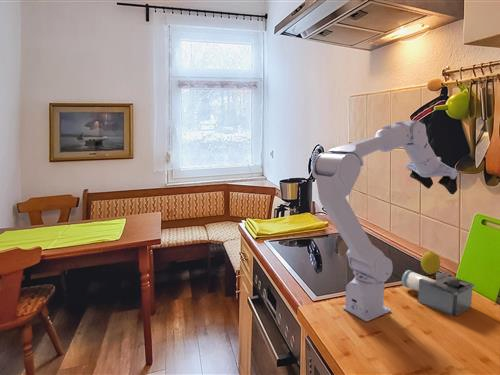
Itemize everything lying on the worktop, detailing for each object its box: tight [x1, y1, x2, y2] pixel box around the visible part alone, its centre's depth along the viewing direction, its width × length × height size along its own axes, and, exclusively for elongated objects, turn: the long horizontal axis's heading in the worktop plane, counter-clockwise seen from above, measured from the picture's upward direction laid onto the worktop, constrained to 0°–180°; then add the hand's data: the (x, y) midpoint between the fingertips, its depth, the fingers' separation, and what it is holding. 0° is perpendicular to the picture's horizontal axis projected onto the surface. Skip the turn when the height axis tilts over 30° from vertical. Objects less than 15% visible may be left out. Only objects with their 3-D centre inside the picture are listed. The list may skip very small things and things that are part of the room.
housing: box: [417, 271, 476, 317], centre depth 88 cm, size 10×9×6 cm
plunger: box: [447, 276, 461, 288], centre depth 86 cm, size 3×3×2 cm
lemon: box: [420, 250, 441, 276], centre depth 107 cm, size 6×6×8 cm
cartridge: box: [401, 269, 436, 292], centre depth 94 cm, size 10×5×5 cm, turn 31°
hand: (441, 188), depth 95 cm, fingers open, 7 cm apart
